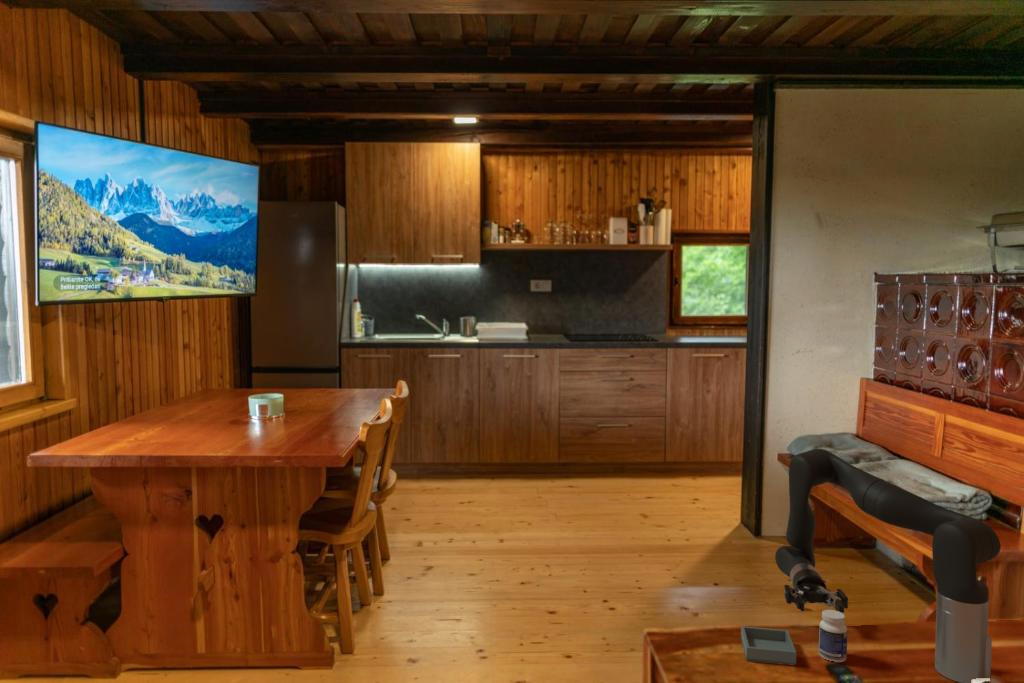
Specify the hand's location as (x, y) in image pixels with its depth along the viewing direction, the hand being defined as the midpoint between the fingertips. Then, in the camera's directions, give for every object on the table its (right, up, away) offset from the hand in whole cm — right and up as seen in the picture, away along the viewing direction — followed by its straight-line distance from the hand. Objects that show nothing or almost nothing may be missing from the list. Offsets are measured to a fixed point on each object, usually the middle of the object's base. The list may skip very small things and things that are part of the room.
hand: (821, 609), depth 164 cm
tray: (-16, -7, -8) cm, 19 cm away
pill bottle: (-2, -7, -10) cm, 13 cm away
